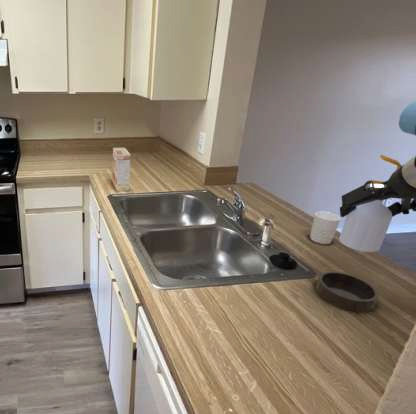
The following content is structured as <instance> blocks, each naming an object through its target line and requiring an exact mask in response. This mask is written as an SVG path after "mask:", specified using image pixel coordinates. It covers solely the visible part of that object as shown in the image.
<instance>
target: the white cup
mask: <svg viewBox="0 0 416 414" xmlns="http://www.w3.org/2000/svg"><path fill="white" fill-rule="evenodd" d="M341 219H342V217H340V215H338V214H336V213H333V212H330V211H324V210H321V211H315V213H314V215H313V220H312V223H311V228H310V235H309V239H310V240H311V241H312V242H315V243H317V244H321V245H329V244H332V240H333V238H334V237H335V234H336V233H337V229H338V227H339V224H340V222H341Z"/></svg>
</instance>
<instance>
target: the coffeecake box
mask: <svg viewBox="0 0 416 414" xmlns="http://www.w3.org/2000/svg"><path fill="white" fill-rule="evenodd" d="M130 176H131V153H130V152H129V151H128V149H127V148H126V147H112V184H113V187H114V188H115V191H116V192H124V191H125V192H127V191H130V183H131V182H130V179H131V177H130Z"/></svg>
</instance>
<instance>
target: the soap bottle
mask: <svg viewBox="0 0 416 414" xmlns="http://www.w3.org/2000/svg"><path fill="white" fill-rule="evenodd" d="M379 157H380V159H381V160H383V161H385V162H388V163H390V164H393V165H395V166H396V169H395V171H396V170H397V169H399V168H400V167H401V166H403V164H401V163H400V162H399V161H398V160H396V159H393V158H391V157H388V156H386V155H384V154H381V155H379ZM367 181H373V184H381V183H382V182H383V181H380V180H373V179H368V180H367ZM382 195H383V194H382ZM383 196H384V195H383ZM383 202H384V200H382V201H381V200H375V201H372V202H369V203H365V204H362V205H358V206H356V209H355V210H353V211H352V212H350V213H349V214H347V215H346V216H345V219H344V223H343V226H342V229H341V231H340V235H339V238H338V241H339V242H340V243H341V244H342V245H344V246H345V247H347V248H349V249H352V250H354V251H357V252H363V253H377V252H378V251H380V250H381V248H382V245H383V242H384V241H385V240H384V239H385V238H386V234H387V232H388V229H389V227H390V225H391V223H392V220H393V217H392V212H391V211H390V210H389V209H388V208H387V207H388V206H386V205H384V204H383Z"/></svg>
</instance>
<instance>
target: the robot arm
mask: <svg viewBox="0 0 416 414" xmlns="http://www.w3.org/2000/svg"><path fill="white" fill-rule="evenodd" d="M399 115H400V116H399V120H398V127H399V129H400V131H402V132H403V133H405V134H409V135H412V136H415V137H416V101H414V102H410V104H408V105H406V107H405V108H404V109H403V110H402V111H401V113H400V114H399ZM396 169H397V168H396ZM396 169H395V171H393V172H392V173H391V174H390V176H389V178H388V180H385V181H382V183H381V184H373V181H368V180H367V181H366V182H365V183H363V185H361V186H358V187H357V188H355V189H352V190H350V191H349V192H347V193H345V194H342V195H341V206H340V207H339V217H340V218H344V217H345V218H346V216H347V214H349V213H350V212H352V211H353V210H355V209H356V206H358V205H362V204H365V203H369V202H372V201H375V200H381V201H382V200H383V201H385V200H389V199H398V200H399V199H400V201H395V202H393V203H392V204H390V205H388V206H386V207H387V208H388V209H389V210H390V211H391V212H392V218H393V217H395V216H398V215H400V214H402V215H409V214H410V210H411V211H412V212H416V155H415V156H413V157H412V158H410V159H409V160H408V161H407V162H405V163H404V164H402V166H401V167H400V168H399V169H397V170H396ZM382 194H383V195H384V196H383V195H382Z"/></svg>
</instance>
